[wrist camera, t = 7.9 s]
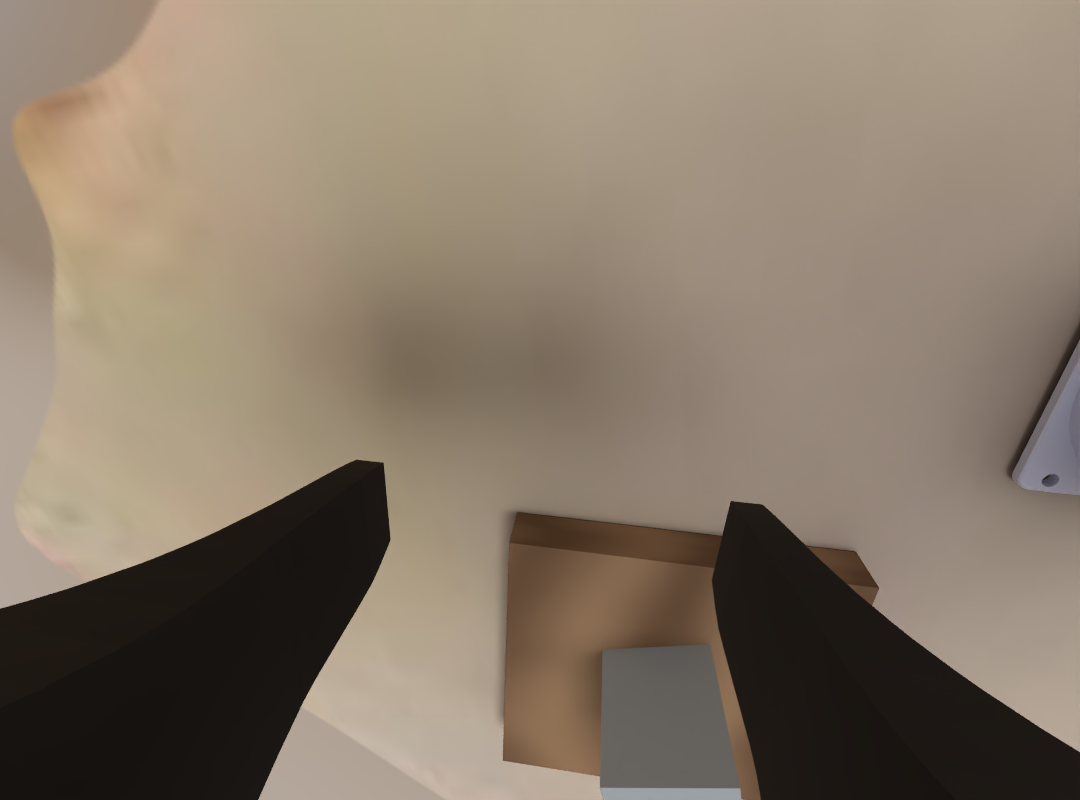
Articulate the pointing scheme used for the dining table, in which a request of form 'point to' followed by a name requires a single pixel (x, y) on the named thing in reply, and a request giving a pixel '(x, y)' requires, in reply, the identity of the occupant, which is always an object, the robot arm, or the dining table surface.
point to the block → (664, 726)
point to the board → (611, 628)
